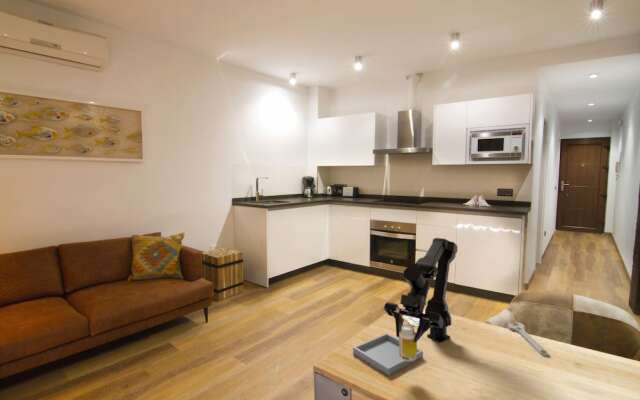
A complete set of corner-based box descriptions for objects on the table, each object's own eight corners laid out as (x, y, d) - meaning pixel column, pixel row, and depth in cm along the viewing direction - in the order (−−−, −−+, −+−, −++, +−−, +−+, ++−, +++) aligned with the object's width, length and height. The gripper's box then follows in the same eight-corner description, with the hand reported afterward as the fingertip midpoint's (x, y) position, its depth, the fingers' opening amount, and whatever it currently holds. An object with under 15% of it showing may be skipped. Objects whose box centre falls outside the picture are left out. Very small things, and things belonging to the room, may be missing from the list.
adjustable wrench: (550, 358, 121) (550, 353, 121) (530, 357, 123) (530, 352, 122) (521, 325, 146) (521, 321, 146) (504, 325, 147) (505, 321, 147)
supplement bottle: (420, 359, 110) (420, 328, 109) (406, 363, 108) (405, 332, 107) (409, 351, 115) (409, 321, 114) (395, 355, 113) (395, 325, 112)
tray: (386, 339, 137) (386, 333, 137) (422, 357, 123) (422, 351, 123) (353, 353, 127) (353, 347, 127) (388, 376, 113) (388, 368, 113)
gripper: (385, 279, 118) (371, 322, 110) (440, 288, 107) (429, 337, 99) (395, 294, 125) (382, 335, 117) (447, 304, 114) (437, 351, 106)
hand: (406, 339), depth 110 cm, fingers closed on supplement bottle, 6 cm apart
